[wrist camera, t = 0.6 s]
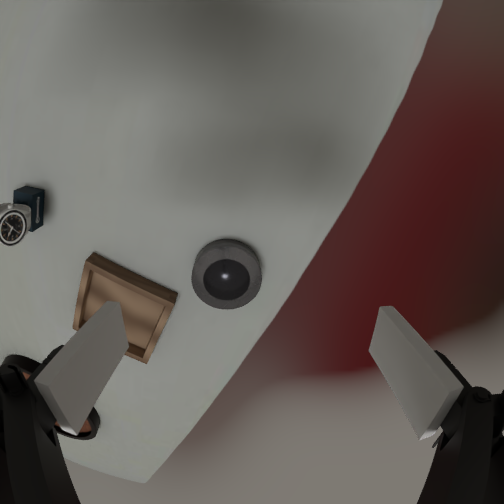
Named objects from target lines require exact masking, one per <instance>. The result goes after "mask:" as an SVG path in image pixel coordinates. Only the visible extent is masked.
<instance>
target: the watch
mask: <svg viewBox="0 0 504 504" xmlns="http://www.w3.org/2000/svg"><path fill="white" fill-rule="evenodd" d="M44 191H45V190H42V189H37V188H33V187H28V186H24V187H22V188H19V189H16V190H14V197H13V204H11V203H3V204H0V243H2V244H3V245H5V246H14V245H16V244H18V243H19V242H21V240H22V239H23V238H24V236H25V235H26V234H27V233H28V231H30V232H33V231H35V230H36V229H38V228H39V227H41V226H43V209H44Z"/></svg>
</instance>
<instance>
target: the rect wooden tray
mask: <svg viewBox="0 0 504 504" xmlns="http://www.w3.org/2000/svg"><path fill="white" fill-rule="evenodd" d="M177 294H178V293H176V292H173V291H171V290H169V289H167V288H165V287H163V286H160V285H158V284H156V283H154V282H152V281H150V280H148V279H146V278H143V277H141V276H139V275H137V274H135V273H133V272H131V271H129V270H127V269H125V268H123V267H121V266H119V265H117V264H115V263H113V262H111V261H109V260H107V259H105V258H103V257H102V256H100V255H98V254H96V253H94V252H93V253H92V254H91V255H90V256H89V257H88V258H87V259H86V261H85V265H84V269H83V273H82V278H81V283H80V287H79V292H78V298H77V303H76V309H75V315H74V322H73V329H74V330H76V331H78V330H79V329H80V328H81V327H82V326H83V325H84V324H85V323H86V322H87V321H88V320H89V319H90V318H91V317H92V316H93V315H94V314H95V313H96V312H97V311H98V310H99V309H100V308H101V307H102V306H103V305H104V304H105V303H106V302H107V301H113V302H120V307H121V312H122V317H123V322H124V327H125V331H126V336H127V340H128V344H129V348H128V349H127V351H126V352H125V355H127V356H129V357H131V358H134V359H136V360H138V361H141V362H143V363H145V364H147V363H148V360H149V358H150V356H151V354H152V351H153V349H154V347H155V345H156V343H157V341H158V338H159V336H160V334H161V332H162V330H163V328H164V326H165V323H166V321H167V319H168V317H169V315H170V313H171V311H172V309H173V307H174V305H175V302H176V298H177Z"/></svg>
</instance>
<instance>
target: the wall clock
mask: <svg viewBox="0 0 504 504" xmlns="http://www.w3.org/2000/svg"><path fill="white" fill-rule="evenodd" d="M8 363H14V364H17V365H18V366H19V367H20V368H21V370H22V372H23V374H24V376H25V378H26V380H27V379H28V378H29V376H30V375H31V374H32V373H33V372H34V371H35V370H36V368H37V367H38V366H39V365H40V364H41V363H39V362H37V361H35V360H33V359H30V358H28V357H25V356H21V355H9V356H8V357H6V359H5V360H4V362H3V363H2V365H1V366H3V365H5V364H8ZM1 366H0V367H1ZM99 424H100V418H99V415H98V413H97V411H96V410H95V408H94V407H93V408H92V410H91V411H90V413H89V415H88V417H87V419H86V420H85V422H84V424H83V426H82V428H81V430H80V431H79V433H78V435H77V436H76V435H74V434H71V433H69V432H66V431H64V430H62V428H61V427H60V425H59V424H58V422H57V421H56V423H55V425H54V428H55V430H56V432H57V433H59V434H61V435H64V436H67V437H70V438H74V439H79V440H89V439H92V438H94V437H95V436H96V434H97V431H98V428H99Z"/></svg>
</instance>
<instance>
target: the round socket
mask: <svg viewBox="0 0 504 504" xmlns="http://www.w3.org/2000/svg"><path fill="white" fill-rule="evenodd" d="M261 282H262V275H261V270H260V266H259V262H258V259H257V257H256V255H255V253H254V252H253V251H252V249H251V248H249V247H248V246H247V245H245V244H244V243H242V242H240V241H237V240H232V239H221V240H216V241H213V242H211V243H209V244H208V245H206V246H205V247H204V248H202V250H201V251H200V252H199V253H198V255H197V257H196V259H195V263H194V267H193V271H192V285H193V289H194V291H195V293H196V294H197V296H198V297H199V298H200V299H201V300H202V301H203V302H205V303H206V304H208V305H210V306H212V307H215V308H218V309H235V308H239V307H241V306H244V305H246V304H247V303H249V302H250V301H251V300H252V299H253V298H254V297H255V296H256V295H257V293H258V292H259V289H260V287H261Z"/></svg>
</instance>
